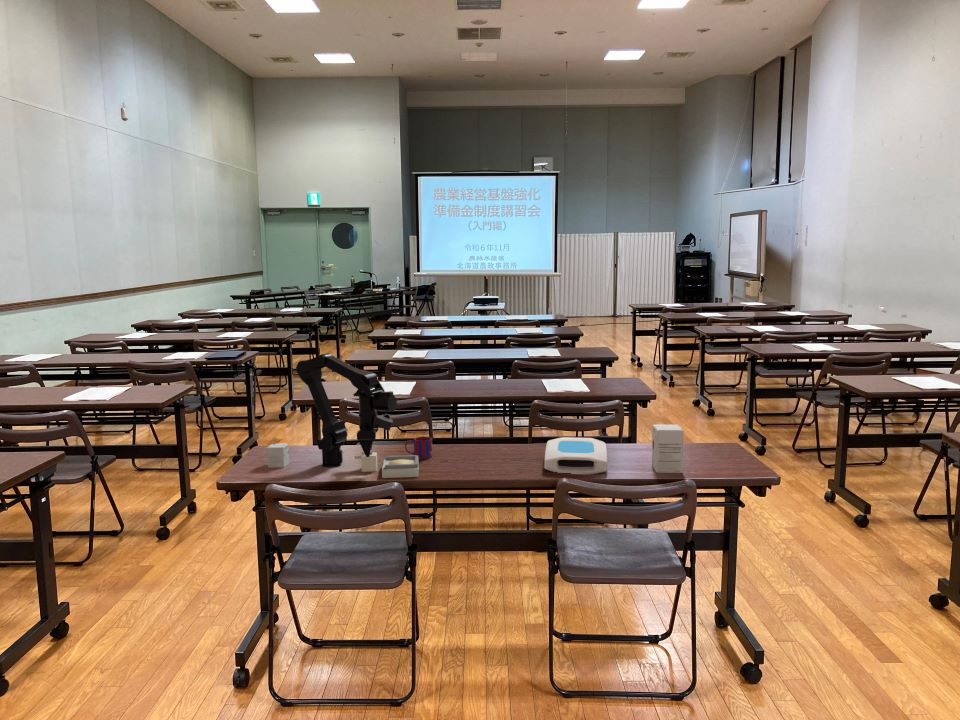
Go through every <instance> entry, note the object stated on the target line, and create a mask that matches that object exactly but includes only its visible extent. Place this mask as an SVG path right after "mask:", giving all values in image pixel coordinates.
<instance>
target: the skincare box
mask: <svg viewBox="0 0 960 720" xmlns="http://www.w3.org/2000/svg"><path fill="white" fill-rule="evenodd" d="M289 449H290V448H289V443H286V442H285V443H271V444H270V445H269V446H267V447H266V454H267V456H266V457H267V468H272V469H273V468H285V467H287V465H289V464H290V452H289V451H290V450H289ZM288 463H289V464H288Z"/></svg>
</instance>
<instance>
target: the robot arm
mask: <svg viewBox="0 0 960 720" xmlns="http://www.w3.org/2000/svg"><path fill="white" fill-rule="evenodd" d="M324 368H327V369H329V370H331V371H332V372H334V373H337V374H338V375H340V376H341V377H343V378H346V379H347V380H348V381H350V384H352V386H353V387H355V388H356V389H357V390H356V391H355V392H354V393H353V394H352V396H353V397H358V409H359V410H358V411H359V413H358V418H359V425H358V429H359V430H358V431H357V432H356V439H357V441H358V443H359V445H360V447H361V449H362V451H363V453H365V456H366V457H369V456H370V451H372V449H373V443H374V441H376V438H377V432H378V431H379V428H380V429H384V430H385V431H387V432H389V431H390V430H391V429H392V426H393V422H394V420H393V418H391V415H390V414H388V413H385V414H384V415H378V411H379V412H380V411H381V412H391V413H393V412H394V411H396V409H397V406H398V405H397V404H398V400H397V397H396V396H395V395H394V392H393V391H391V390H389V391H385V389H384V386H383V385H382V384H381V382H380V381H379V378H378V375H377V374H376V373H374V372H372V371H368V370H366V369H365V370H363V369H359V368H356V367H355V366H352V365H351V364H349V363H347V362H345V361H344V360H342V359H340V358H338V357H335V356H334V355H333V354H332V353H329V352H328V353H322V354H319V355H318V356H316V357H313V358H308V359H304V360H299V361H298V362H297V364H296V366H295V370H296V373H297V375H298V377H299V378H300V380H301V381H302V382H303V383H304V384H306V385H307V387H308V390H309V393H310V394H311V397H312V400H313V402H314V405H315V407H316V410H317V412H318V415H319V418H320V420H321V423H322V424H321V434H322V438H321V439H320V440H319V441H318V442H317V447H318V450H321V454H322V455H321V456H322V457H321V458H322V459H321V460H322V464H321V467H340V466H342V465H341V464H343V462H344V461H343V459H344V456H343V454H344V451H343V450H342V449H341V448H342V446H344V445H345V442H346V440H347V437H348V431H349V429H348V428H347V427H346V423H345V421H344V420H343V419H341V420H339V419H338V418H337V417H336V414H335V412H334V410H333V408H332V404H331V402H330V400H329V398H328V395H327V392H326V390H325V387H324V384H323V382H322V376H323V372H322V369H324Z"/></svg>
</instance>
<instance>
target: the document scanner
mask: <svg viewBox="0 0 960 720" xmlns="http://www.w3.org/2000/svg"><path fill="white" fill-rule="evenodd" d="M561 460H562V461H563V460H565V461H566V460H567V461H591V462H593V466H582V467H581V466H565V465H560V464H559V461H561ZM544 469H545V470H547V471H549V472H552V473H555V472H558V473H557V474H559V473H571V474H570V475H588V476H589V475H595V474H599V473H605V472H607V471H608V452H607V445H606V442H604V441H602V440H599V439H596V438H593V437H573V436H572V437H565V436H564V437H563V436H561V437H557V438H554V439H549V440H548V441H547V442H546V446H545V452H544Z"/></svg>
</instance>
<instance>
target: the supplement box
mask: <svg viewBox="0 0 960 720" xmlns="http://www.w3.org/2000/svg"><path fill="white" fill-rule="evenodd" d="M684 433H685V431H684V429H682V427H681V426H680V425H679V424H677V423H676V424H675V423H674V424H661V423H660V424H652V440H651V441H652V443H651V447H652V449H651V467H652V468H653V470H654V471H655V473H657V474H683V471H684V470H683V467H684V466H683V464H684V463H683V462H684V437H685V436H684V435H685V434H684Z"/></svg>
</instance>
